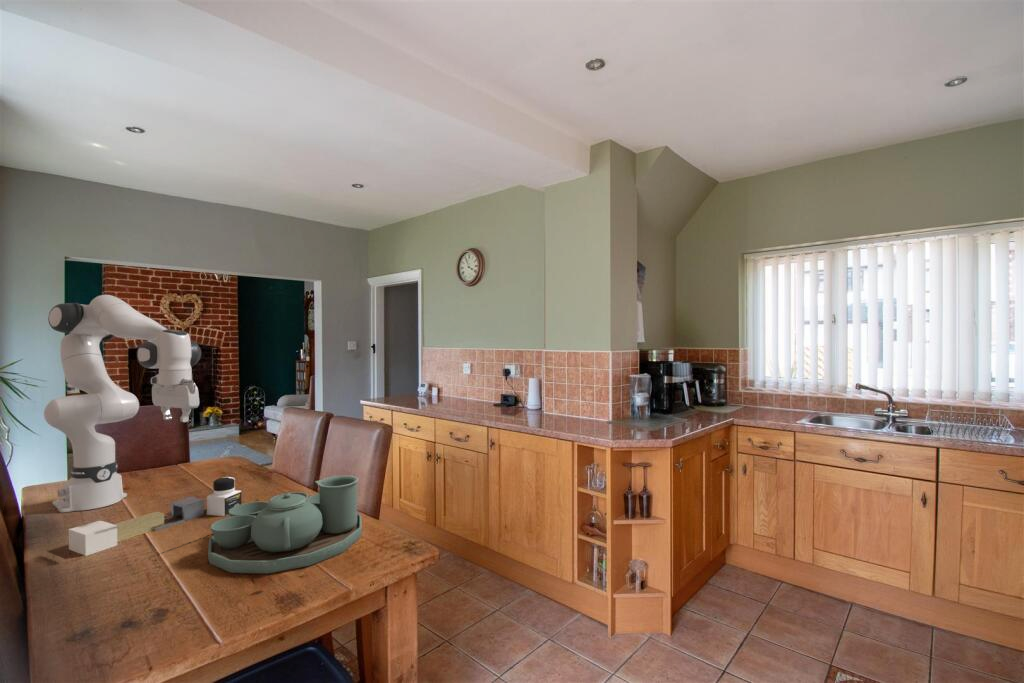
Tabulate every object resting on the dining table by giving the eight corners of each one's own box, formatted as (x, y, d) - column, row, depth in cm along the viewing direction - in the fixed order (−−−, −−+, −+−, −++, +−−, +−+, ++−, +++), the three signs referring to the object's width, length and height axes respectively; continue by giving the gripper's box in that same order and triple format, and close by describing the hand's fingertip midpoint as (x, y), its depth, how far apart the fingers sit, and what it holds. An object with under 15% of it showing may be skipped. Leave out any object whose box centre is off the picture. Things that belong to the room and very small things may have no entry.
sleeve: (141, 530, 143) (141, 510, 143) (190, 515, 155) (190, 496, 155) (156, 535, 139) (156, 514, 139) (205, 518, 152) (205, 499, 152)
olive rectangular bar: (92, 544, 130) (91, 530, 130) (156, 524, 145) (156, 511, 145) (99, 547, 128) (99, 532, 128) (164, 526, 143) (164, 513, 143)
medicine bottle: (225, 519, 151) (224, 482, 151) (206, 518, 153) (205, 481, 153) (242, 511, 158) (241, 475, 158) (223, 510, 160) (223, 474, 160)
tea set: (326, 507, 163) (325, 459, 163) (387, 541, 135) (387, 483, 135) (189, 543, 134) (189, 485, 134) (231, 595, 106) (231, 522, 106)
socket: (68, 553, 128) (68, 529, 128) (100, 543, 134) (100, 520, 134) (85, 559, 124) (85, 535, 124) (117, 549, 130) (117, 525, 130)
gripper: (204, 379, 153) (205, 421, 153) (168, 377, 162) (168, 417, 162) (184, 380, 148) (184, 424, 148) (147, 378, 157) (147, 420, 157)
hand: (175, 420), depth 155 cm, fingers open, 8 cm apart
